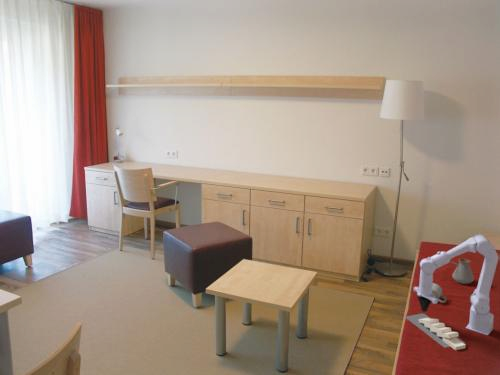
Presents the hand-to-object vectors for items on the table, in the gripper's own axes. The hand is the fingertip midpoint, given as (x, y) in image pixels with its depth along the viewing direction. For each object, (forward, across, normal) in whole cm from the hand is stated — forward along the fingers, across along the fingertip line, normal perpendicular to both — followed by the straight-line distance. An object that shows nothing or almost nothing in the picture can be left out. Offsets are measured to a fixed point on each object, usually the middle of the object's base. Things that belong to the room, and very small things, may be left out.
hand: (424, 310), depth 205 cm
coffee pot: (+6, -35, +47) cm, 59 cm away
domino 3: (+5, +8, 0) cm, 9 cm away
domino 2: (+5, +4, 0) cm, 6 cm away
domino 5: (+5, +16, 0) cm, 17 cm away
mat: (+6, +7, 0) cm, 9 cm away
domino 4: (+5, +12, 0) cm, 13 cm away
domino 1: (+5, 0, 0) cm, 5 cm away
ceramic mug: (+6, -18, +21) cm, 29 cm away
